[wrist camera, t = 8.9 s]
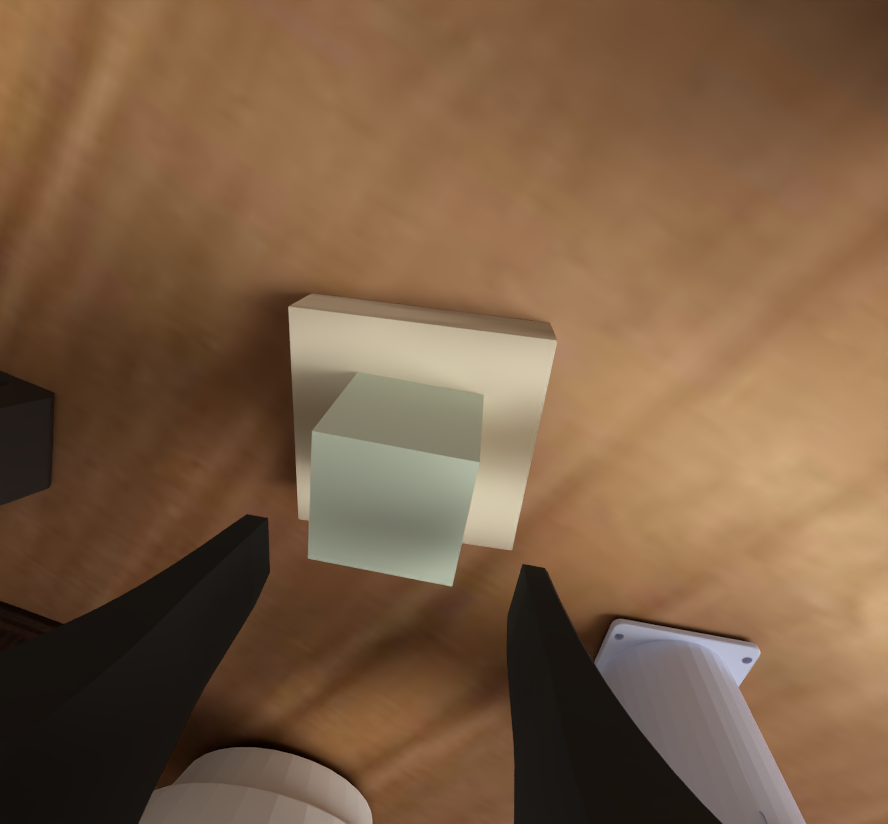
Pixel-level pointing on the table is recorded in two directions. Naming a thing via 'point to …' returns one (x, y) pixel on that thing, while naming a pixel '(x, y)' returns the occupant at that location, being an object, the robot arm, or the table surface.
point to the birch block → (433, 363)
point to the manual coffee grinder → (21, 626)
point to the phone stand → (24, 438)
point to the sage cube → (394, 477)
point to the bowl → (257, 792)
